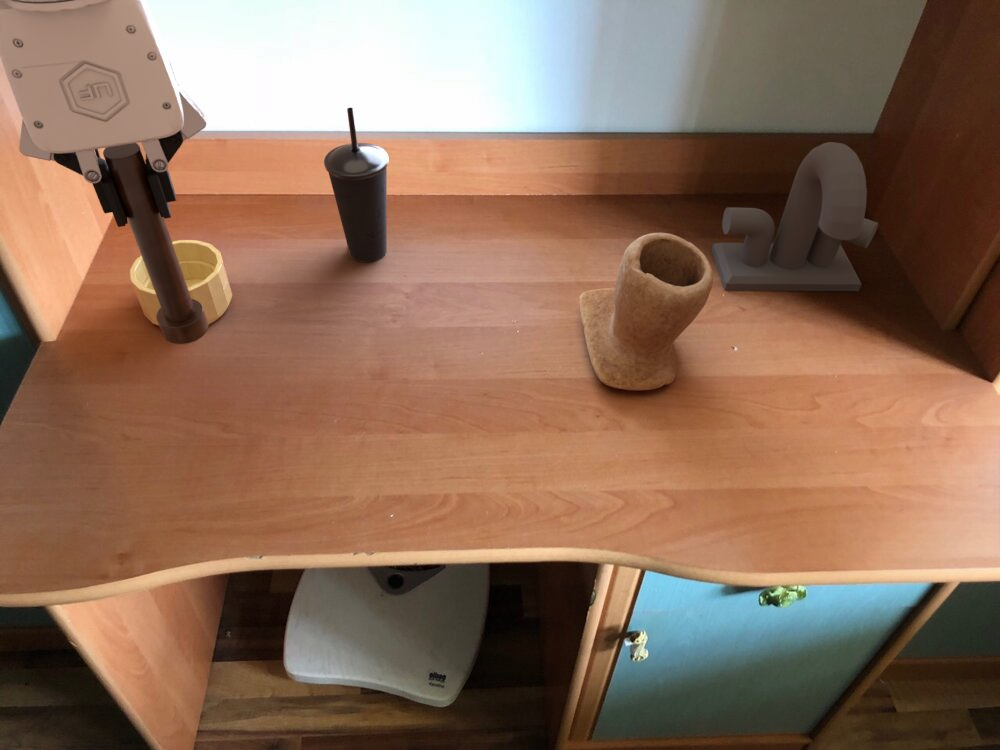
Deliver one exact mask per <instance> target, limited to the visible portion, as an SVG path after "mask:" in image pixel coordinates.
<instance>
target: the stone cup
mask: <svg viewBox="0 0 1000 750" xmlns="http://www.w3.org/2000/svg"><path fill="white" fill-rule="evenodd" d="M713 283H714V272H713V268H712V265H711V263H710V261H709V260H708V258H707V257H706V255H705V254H704V253H703V252H702V251H701V250H700V249H699V248H698V247H697V246H696V245H694V244H693V243H692V242H690V241H689V240H688V241H687V240H685V238H682V237H680V236H678V235H675V234H672V233H668V232H667V233H666V232H650V233H647V234H644V235H641V236H639V237H638V238H636V239H635V240H633V241H632V242H631V243H630V244H629V245H628V246H627V248H626V249H625V251H624V253H623V255H622V258H621V262H620V265H619V267H618V270H617V275H616V278H615V281H614V287H613V288H610V287H609V288H606V287H605V288H597V289H596V288H595V289H589V290H586V291H584V292H582V293H581V294H580V295H579V298H578V300H579V309H580V318H581V323H582V327H583V332H584V333H583V334H584V340H585V343H586V349H587V352H588V355H589V356H588V357H589V360H590V363H591V366H592V369H593V371H594V373H595V375H596V376H597V378H598V380H599V381H601V383H602V384H604V385H606V386H608V387H611V388H614V389H619V390H625V391H637V392H639V391H650V390H651V391H652V390H656V389H659V388H661V387H663V386H664V385H665V386H666V385H669V384H671V383H673V381H674V380H675V377H676V372H677V366H676V364H677V363H676V361H677V360H676V351H675V346H674V342H675V341H676V340H677V339H678V337H680V335H682V333H683V332H685V330H686V329H687V328H688V327H689V326H690V325H691V324H692V323H693V321H694V320H695V319H696V318H697V317H698V315H699V314H700V313H701V312H702V310H703V308H704V307H705V306H706V303H707V302H708V299H709V297H710V294H711V291H712V288H713Z"/></svg>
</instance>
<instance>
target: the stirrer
mask: <svg viewBox="0 0 1000 750" xmlns="http://www.w3.org/2000/svg"><path fill="white" fill-rule="evenodd" d="M102 155H103V159H104V160H105V161H106V163H107V166H108V169H109V171H110V174H111V176H112V179H113V181H114V184H115V187H116V189H117V192H118V194H119V197H120V200H121V202H122V205H123V208H124V210H125V213H126V216H127V221H128V224H129V226H130V229H131V232H132V234H133V237H134V240H135V242H136V246H137V249H138V250H139V253H140V256H142V258H143V261H144V263H145V266H146V269H147V271H148V274H149V277H150V279H151V282H152V285H153V287H154V290H155V293H156V295H157V298H158V300H159V303H160V306H161V308H160V309H159V310H158V312H157V315H156V319H157V322H158V324H159V326H158V327H159V329H160V332H161V334H162V336H163V338H164V340H166V341H167V342H169V343H170V344H174V345H187V344H191V343H194V342H197V341H198V340H199V339H201V338H202V337H204V336H205V335H206V333H207V332H208V329H209V325H210V324H208V321H207V318H206V315H205V312H204V309H203V306H202V304H201V303H200V302H198V301H197V300H194V299H191V296H190V293H189V290H188V287H187V284H186V281H185V278H184V275H183V273H182V270H181V267H180V264H179V261H178V258H177V255H176V252H175V249H174V246H173V243H172V242H173V239H172V237H171V235H170V231H169V229H168V226H167V222H166V219H164V217H162V218H161V216H160V213H159V210H158V207H157V204H156V201H155V198H154V195H153V192H152V189H151V186H150V183H149V181H148V177H147V170H146V169H147V167H146V162H145V158H144V155H143V152H142V149H141V146H140V145H139V144H138V143H132V144H125V145H119V146H113V147H106V148H103V151H102Z"/></svg>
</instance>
